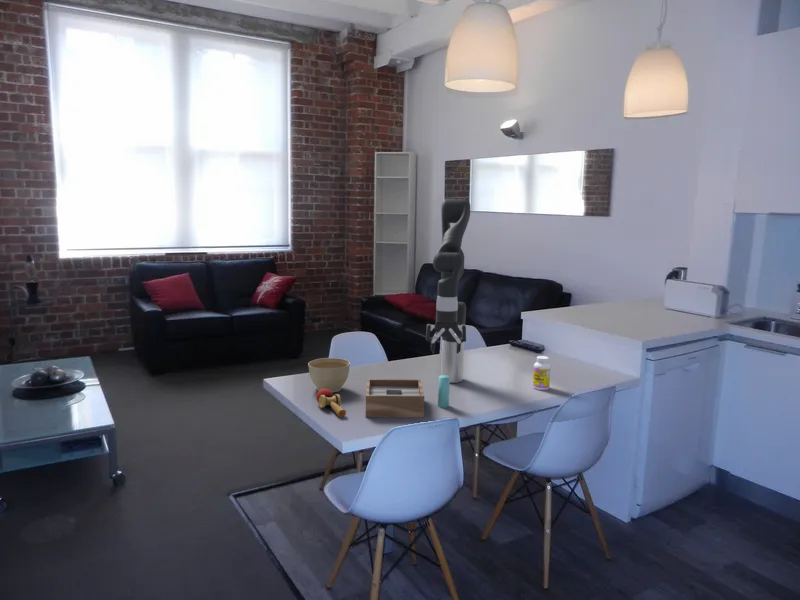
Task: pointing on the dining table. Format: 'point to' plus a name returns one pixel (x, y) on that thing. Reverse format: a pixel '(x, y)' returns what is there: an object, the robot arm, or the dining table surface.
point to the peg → (443, 391)
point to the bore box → (394, 398)
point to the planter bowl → (329, 373)
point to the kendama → (330, 401)
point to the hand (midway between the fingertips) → (445, 353)
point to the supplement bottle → (541, 373)
